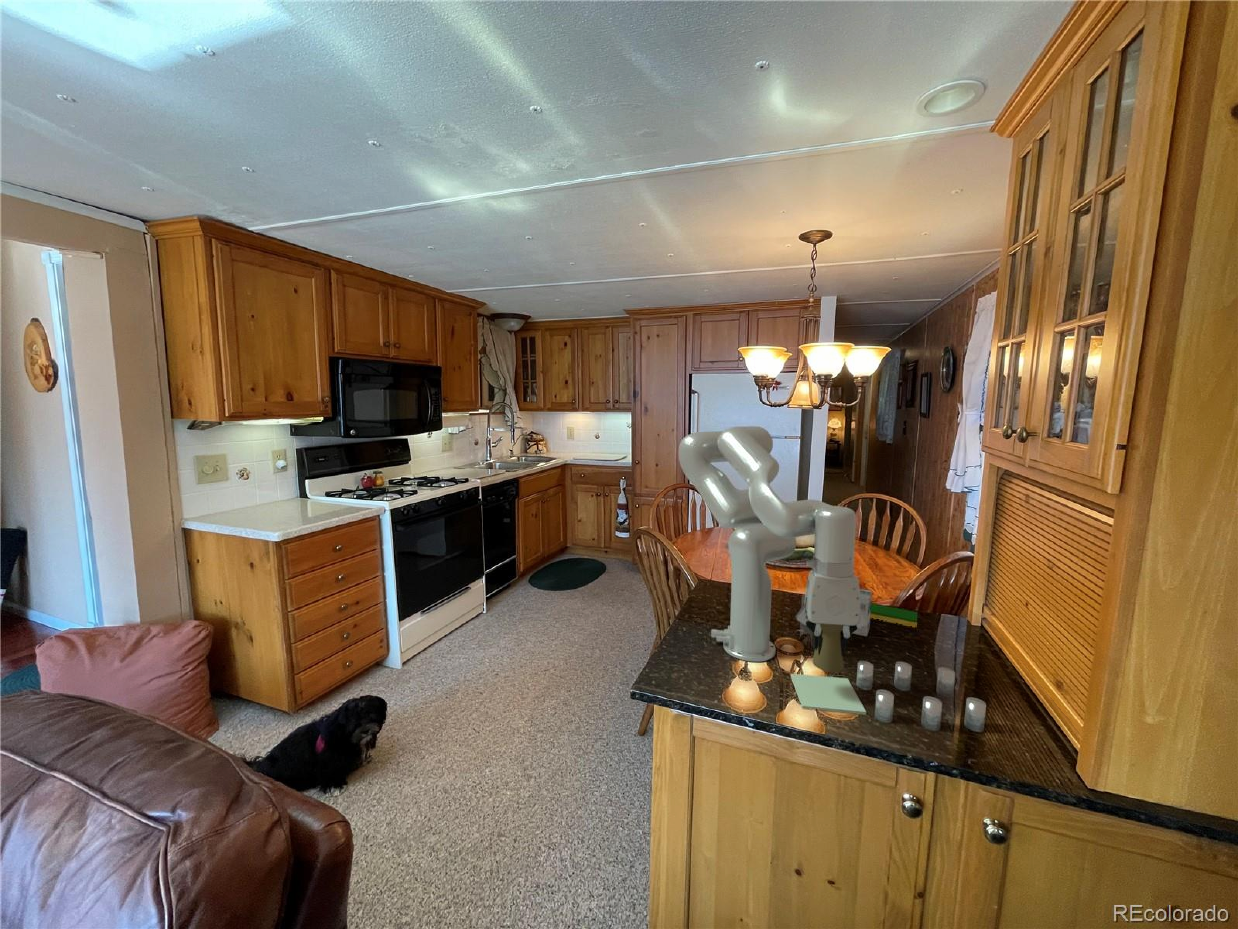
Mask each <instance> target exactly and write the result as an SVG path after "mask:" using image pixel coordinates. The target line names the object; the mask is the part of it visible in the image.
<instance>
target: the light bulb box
mask: <svg viewBox="0 0 1238 929" xmlns="http://www.w3.org/2000/svg"><path fill="white" fill-rule="evenodd" d="M860 602H861V613H862V615H863V617H864V618H865V620H866V622H867V624H866V625H864V626H862V627H860V628H857V630H856V631H854V632H853V633H852V634H853V635H859V636H863V637H867V636H868V634H869V631H870V626H871V624H870V623H871V618H870V609H871V603H872V590H868V589H862V588H860Z"/></svg>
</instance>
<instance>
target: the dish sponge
mask: <svg viewBox="0 0 1238 929" xmlns="http://www.w3.org/2000/svg"><path fill="white" fill-rule="evenodd" d="M872 618H873V619H872ZM870 619H872V620H876V619H879V620H878V621H881V620H883V621H882V622H886V621H887V623H892V624H896V623H898V624H897V625H900V624H902V625H901V626H905V627H910V626H912V627H911V628H915V627H916V628H917V625H918V612H917V611H913V610H912V611H911V610H907V609H901V608H898V607H891V606H887V605H883V604H882V605H881V604H877V603H872V602H871V609H870Z"/></svg>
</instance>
